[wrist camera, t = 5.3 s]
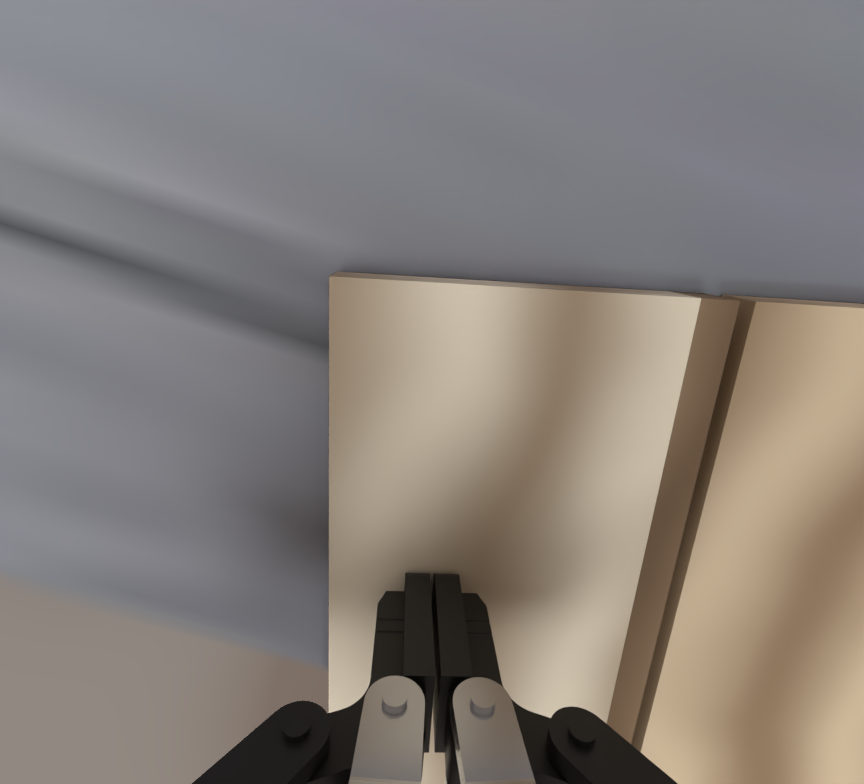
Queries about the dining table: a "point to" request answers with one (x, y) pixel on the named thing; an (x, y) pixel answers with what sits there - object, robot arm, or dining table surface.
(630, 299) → the birch plank
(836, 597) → the oak board
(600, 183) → the dining table surface
